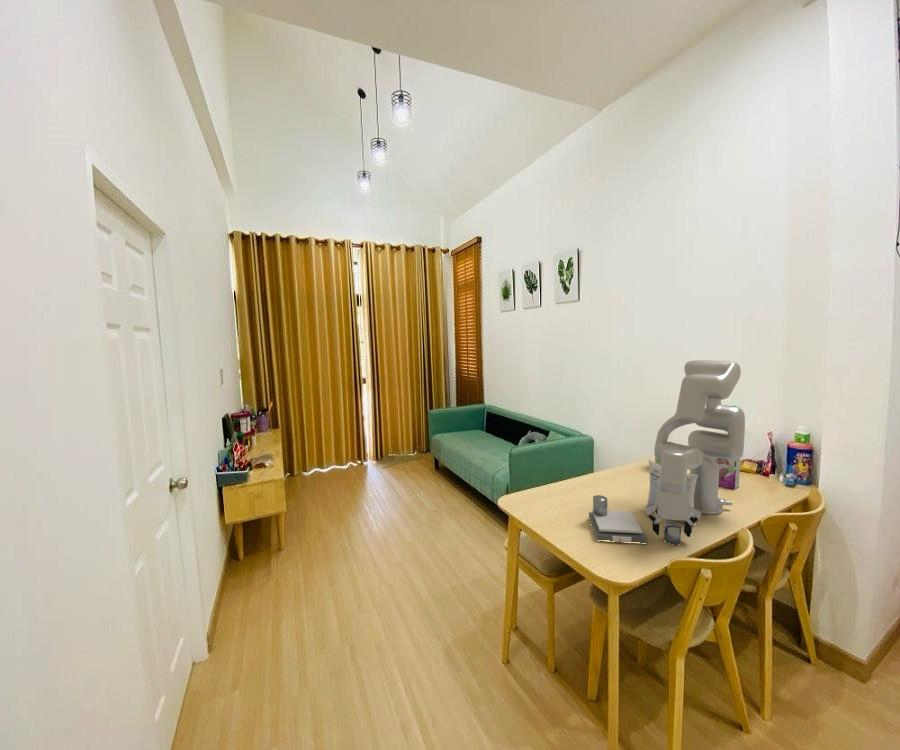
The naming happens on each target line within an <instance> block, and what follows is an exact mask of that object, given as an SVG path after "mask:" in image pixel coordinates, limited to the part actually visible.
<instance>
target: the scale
mask: <svg viewBox="0 0 900 750" xmlns="http://www.w3.org/2000/svg"><path fill="white" fill-rule="evenodd" d="M589 518H590V520H589V522H590V521H591V523H590V525H591V524H592V526H591V528H592V527H593V529H594V531H593V533H594V532H595V534H594V536H595V535H596V537H595V538H597V540H610V541H615V542H640V543H647V544H648V537H647V535H646V533H645V532H644V530H643V529H642V527H641V525H640V524H639V521H638V520H637V518H636V517H635V515H634V513H633V512H632V511H629V510H608V509H607V516H603V517H602V516H597V515H595V514H594V513H593V509H592V510H591V511H589V512H588V519H589ZM593 529H592V530H593ZM597 540H596V541H597Z"/></svg>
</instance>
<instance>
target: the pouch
mask: <svg viewBox="0 0 900 750" xmlns="http://www.w3.org/2000/svg"><path fill="white" fill-rule="evenodd" d="M648 467H649V490H648V499H647V503H646V507H650V506H652V505H654V503H655V496H656V491H657V488H658V487H660V481H661V465H659V464H657V463H655V461H653V460H652V459H648ZM697 477H698V474H690V473H687V483H690V484H691V487H688V488H687V491H688V494H689V499H690V507H692V508H694V492H695V484H696V480H697ZM692 516H694V513H692V512H691V516H690V518H691V517H692ZM685 521H686V520H684V522H685ZM692 527H695V528H696V522H695V523H694V525H693V526H692Z"/></svg>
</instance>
